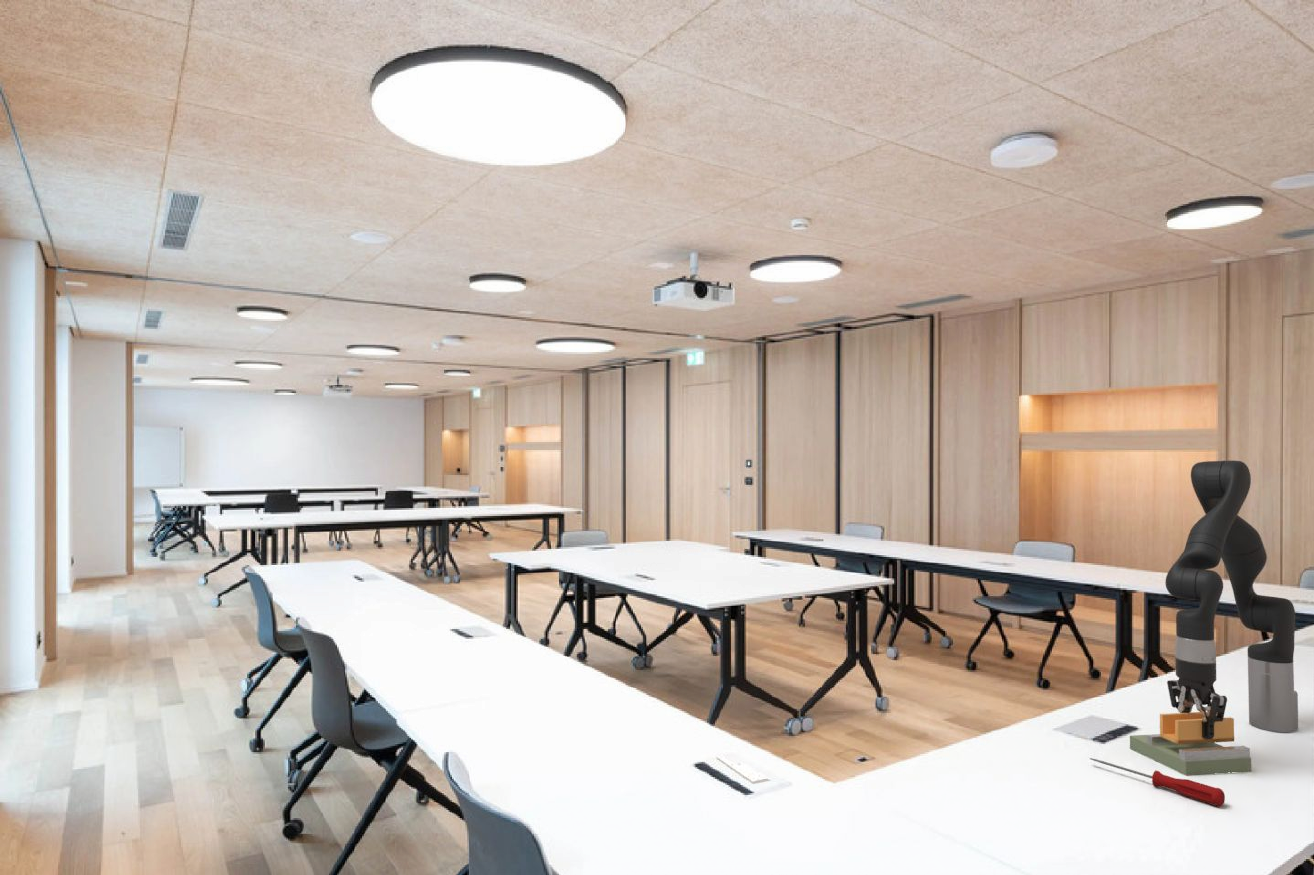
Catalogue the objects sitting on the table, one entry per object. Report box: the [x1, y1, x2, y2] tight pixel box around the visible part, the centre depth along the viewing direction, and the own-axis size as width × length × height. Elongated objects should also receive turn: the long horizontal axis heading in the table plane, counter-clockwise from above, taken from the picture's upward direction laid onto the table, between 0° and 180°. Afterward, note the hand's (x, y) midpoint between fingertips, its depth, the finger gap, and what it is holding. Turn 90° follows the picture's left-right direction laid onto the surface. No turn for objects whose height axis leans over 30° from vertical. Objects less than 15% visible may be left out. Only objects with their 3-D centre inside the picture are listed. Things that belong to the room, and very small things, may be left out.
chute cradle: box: [1146, 733, 1251, 761], centre depth 171 cm, size 16×10×2 cm, turn 98°
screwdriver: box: [1089, 757, 1226, 808], centre depth 160 cm, size 4×25×4 cm, turn 35°
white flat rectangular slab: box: [716, 755, 771, 785], centre depth 167 cm, size 5×15×1 cm, turn 25°
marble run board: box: [1129, 734, 1252, 777], centre depth 174 cm, size 16×16×6 cm
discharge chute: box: [1159, 711, 1235, 744], centre depth 172 cm, size 14×5×5 cm, turn 98°
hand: (1196, 733), depth 172 cm, fingers closed on discharge chute, 5 cm apart
